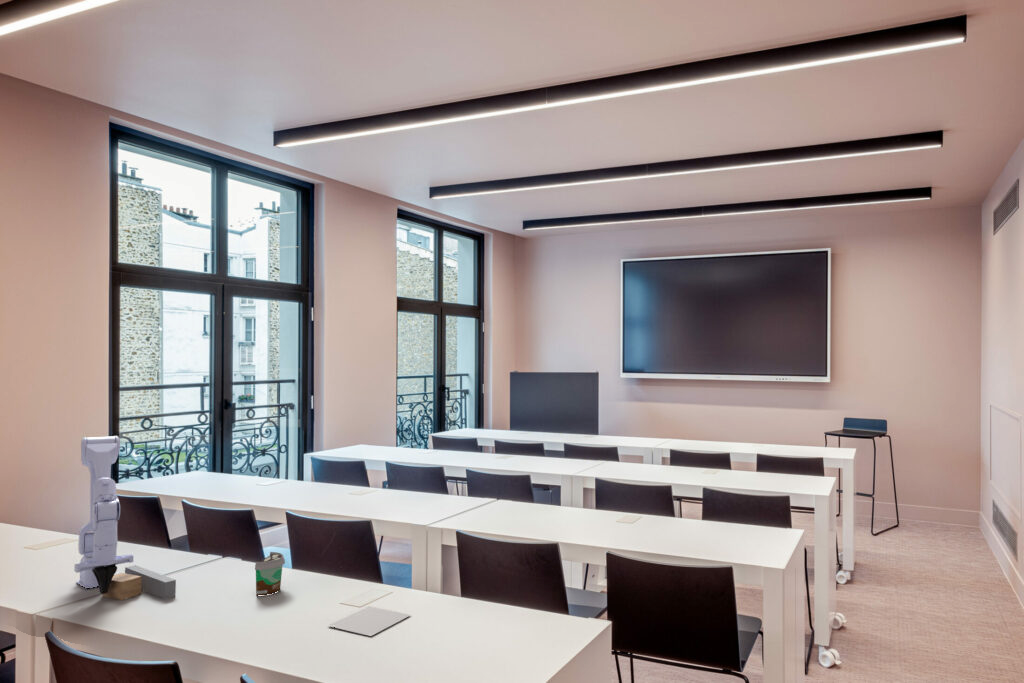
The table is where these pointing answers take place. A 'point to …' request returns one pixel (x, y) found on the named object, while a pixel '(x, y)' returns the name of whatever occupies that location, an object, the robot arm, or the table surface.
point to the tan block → (124, 586)
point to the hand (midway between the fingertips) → (103, 592)
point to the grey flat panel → (369, 620)
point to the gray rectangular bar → (154, 582)
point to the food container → (269, 574)
